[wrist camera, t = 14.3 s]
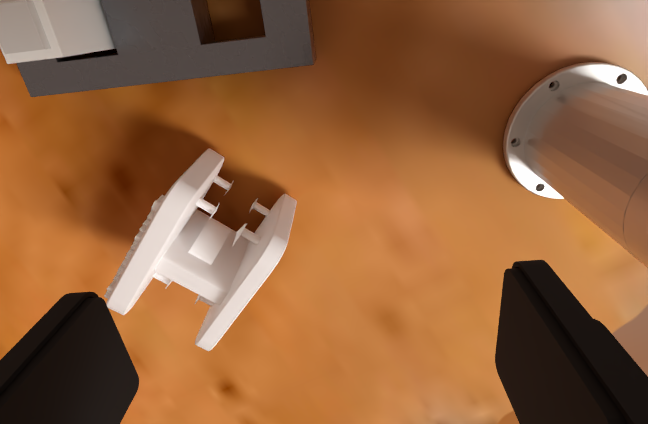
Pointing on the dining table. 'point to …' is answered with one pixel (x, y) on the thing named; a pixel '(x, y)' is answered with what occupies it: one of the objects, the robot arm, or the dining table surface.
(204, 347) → the cable organizer
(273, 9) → the jack panel
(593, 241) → the dining table surface
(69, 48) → the plug
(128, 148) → the dining table surface
